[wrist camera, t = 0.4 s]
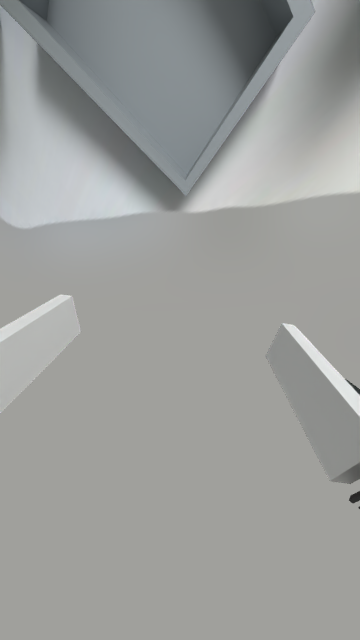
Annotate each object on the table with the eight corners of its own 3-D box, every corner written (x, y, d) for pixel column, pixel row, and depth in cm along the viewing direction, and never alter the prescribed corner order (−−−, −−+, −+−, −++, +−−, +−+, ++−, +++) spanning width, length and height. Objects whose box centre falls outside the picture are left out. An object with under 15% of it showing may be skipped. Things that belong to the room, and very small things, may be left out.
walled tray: (80, -470, 8) (-9, -937, 5) (290, 37, 18) (315, 11, 14) (37, 28, 18) (-3, 2, 15) (187, 187, 28) (186, 196, 24)
